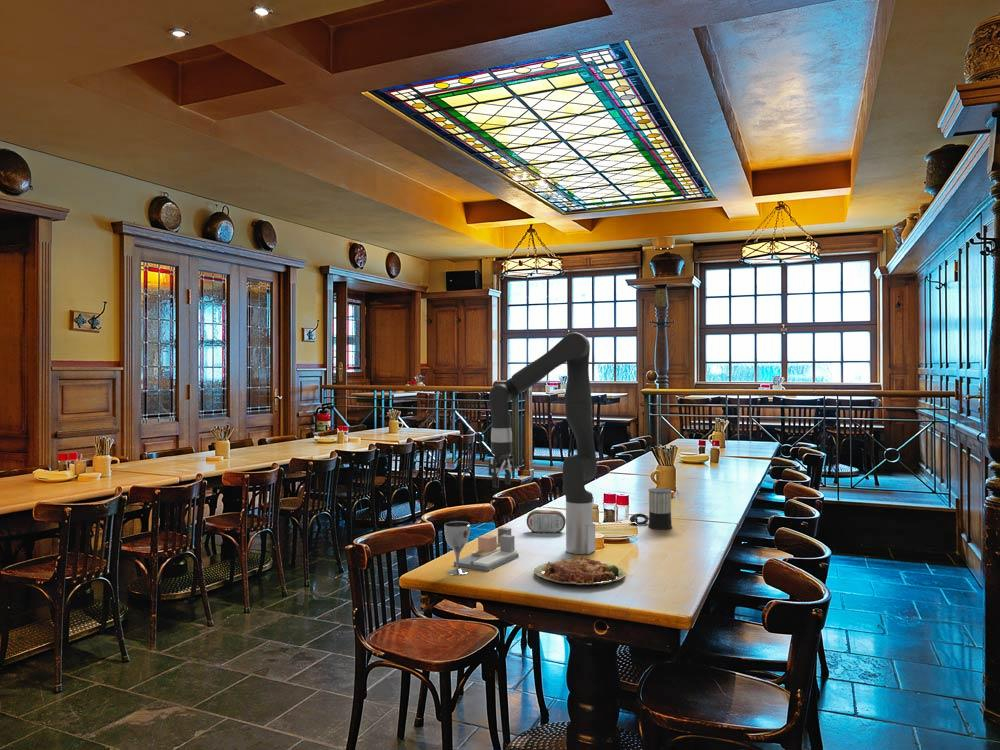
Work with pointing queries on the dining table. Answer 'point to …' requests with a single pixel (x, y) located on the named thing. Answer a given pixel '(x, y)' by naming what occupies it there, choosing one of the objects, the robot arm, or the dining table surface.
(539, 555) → the dining table surface
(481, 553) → the grey piece
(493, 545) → the terracotta block
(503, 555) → the grey strip
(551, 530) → the tin
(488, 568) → the lane board
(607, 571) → the rice dish
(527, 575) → the dining table surface
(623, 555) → the dining table surface
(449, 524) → the wine glass
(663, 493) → the milk frother
